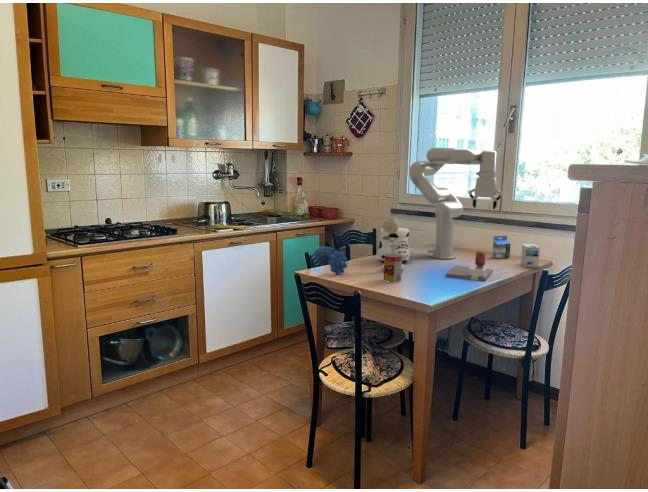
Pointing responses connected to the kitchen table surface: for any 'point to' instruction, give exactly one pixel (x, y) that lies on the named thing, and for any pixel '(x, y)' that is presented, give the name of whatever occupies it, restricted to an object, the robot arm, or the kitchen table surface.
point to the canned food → (392, 267)
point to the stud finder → (477, 271)
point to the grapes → (338, 262)
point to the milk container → (402, 240)
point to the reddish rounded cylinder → (480, 259)
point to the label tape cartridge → (501, 247)
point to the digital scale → (466, 273)
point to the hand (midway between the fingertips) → (484, 208)
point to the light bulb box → (530, 255)
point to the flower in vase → (390, 228)
